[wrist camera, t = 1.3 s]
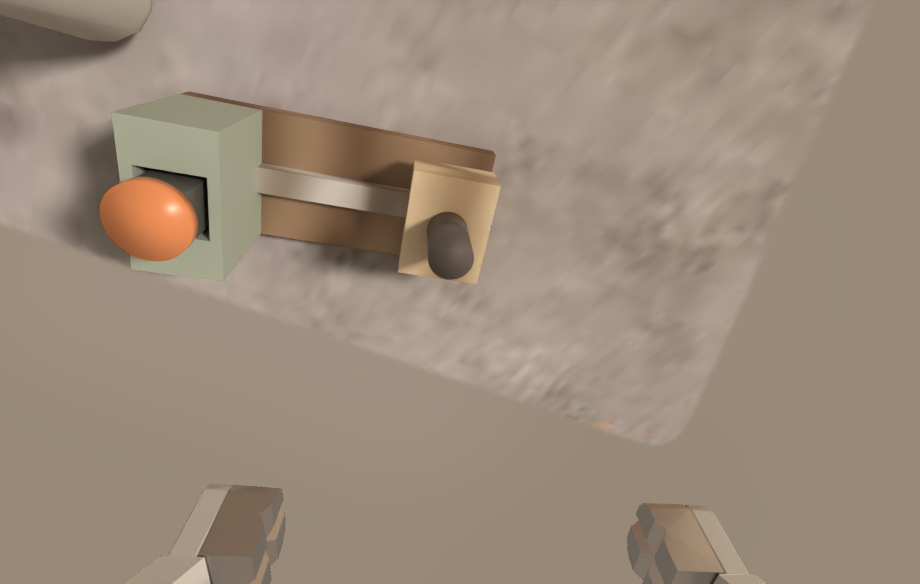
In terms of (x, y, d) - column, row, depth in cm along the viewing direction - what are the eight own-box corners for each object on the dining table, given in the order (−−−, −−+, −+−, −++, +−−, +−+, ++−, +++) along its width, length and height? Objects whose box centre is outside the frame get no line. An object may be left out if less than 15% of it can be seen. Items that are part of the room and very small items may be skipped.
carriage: (399, 252, 32) (394, 304, 26) (414, 157, 29) (412, 191, 23) (472, 263, 33) (483, 317, 27) (493, 172, 30) (512, 209, 24)
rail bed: (195, 216, 32) (181, 227, 30) (188, 91, 29) (171, 96, 27) (468, 259, 35) (470, 272, 34) (493, 151, 32) (497, 159, 30)
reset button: (156, 218, 26) (105, 254, 22) (149, 149, 25) (93, 174, 20) (228, 230, 27) (193, 267, 23) (227, 163, 25) (188, 190, 21)
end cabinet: (188, 222, 31) (131, 269, 25) (179, 93, 28) (111, 112, 22) (261, 233, 32) (223, 281, 26) (262, 109, 28) (218, 132, 22)
